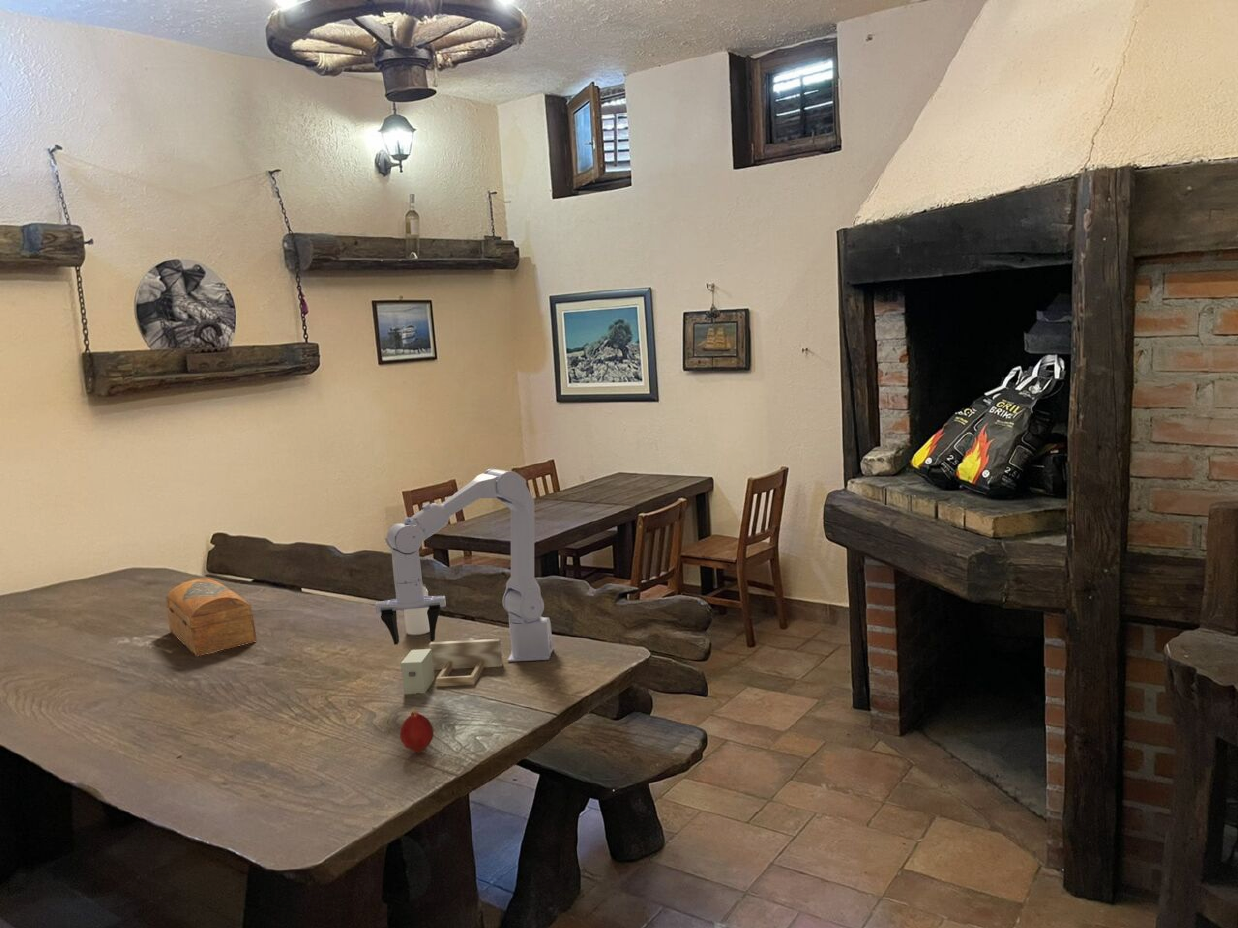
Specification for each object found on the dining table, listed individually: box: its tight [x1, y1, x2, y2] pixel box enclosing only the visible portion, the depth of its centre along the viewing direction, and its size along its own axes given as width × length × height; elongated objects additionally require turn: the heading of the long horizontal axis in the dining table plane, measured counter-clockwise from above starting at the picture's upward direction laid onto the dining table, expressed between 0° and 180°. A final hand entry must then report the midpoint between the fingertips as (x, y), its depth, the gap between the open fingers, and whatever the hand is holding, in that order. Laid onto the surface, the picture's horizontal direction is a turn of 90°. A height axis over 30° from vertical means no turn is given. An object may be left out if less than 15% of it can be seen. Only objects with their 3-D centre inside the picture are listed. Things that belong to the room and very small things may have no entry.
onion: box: [399, 710, 434, 754], centre depth 162 cm, size 6×6×8 cm
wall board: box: [428, 638, 503, 687], centre depth 199 cm, size 16×12×6 cm
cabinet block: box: [400, 648, 436, 695], centre depth 194 cm, size 4×8×7 cm, turn 176°
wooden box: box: [165, 578, 257, 657], centre depth 241 cm, size 30×16×14 cm, turn 37°
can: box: [403, 583, 430, 636], centre depth 232 cm, size 6×6×12 cm
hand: (414, 641), depth 193 cm, fingers open, 7 cm apart
